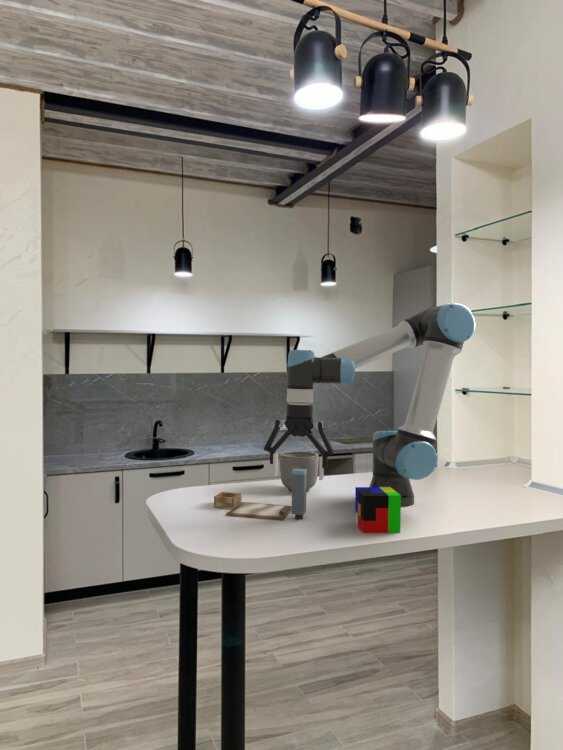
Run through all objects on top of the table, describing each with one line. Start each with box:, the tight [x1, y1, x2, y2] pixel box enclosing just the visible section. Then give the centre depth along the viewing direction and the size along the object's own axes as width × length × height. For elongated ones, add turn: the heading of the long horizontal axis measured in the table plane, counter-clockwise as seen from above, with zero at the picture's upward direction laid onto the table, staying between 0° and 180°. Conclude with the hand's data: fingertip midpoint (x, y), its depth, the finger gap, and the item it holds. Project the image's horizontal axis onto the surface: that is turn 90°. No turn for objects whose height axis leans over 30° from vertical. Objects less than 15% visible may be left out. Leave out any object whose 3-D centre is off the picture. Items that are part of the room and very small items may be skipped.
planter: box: [278, 450, 320, 493], centre depth 192 cm, size 14×14×13 cm
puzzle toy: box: [354, 486, 402, 534], centre depth 150 cm, size 10×10×10 cm
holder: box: [213, 491, 242, 510], centre depth 171 cm, size 7×7×3 cm
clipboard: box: [225, 501, 292, 521], centre depth 165 cm, size 17×14×1 cm
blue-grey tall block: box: [291, 468, 307, 520], centre depth 158 cm, size 4×4×14 cm
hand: (297, 477), depth 158 cm, fingers open, 13 cm apart
